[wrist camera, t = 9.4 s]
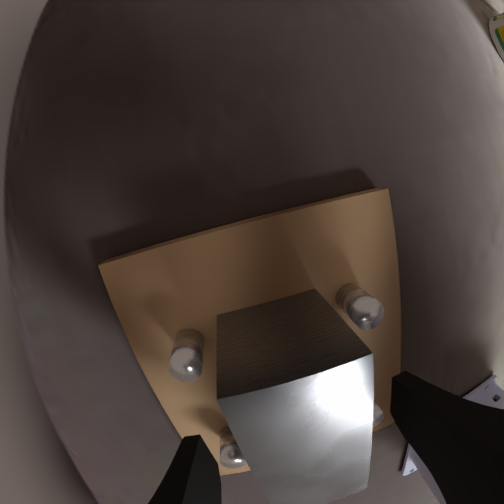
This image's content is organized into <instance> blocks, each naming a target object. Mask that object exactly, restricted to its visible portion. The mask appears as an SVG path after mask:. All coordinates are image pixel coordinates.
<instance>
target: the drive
mask: <svg viewBox="0 0 504 504" xmlns="http://www.w3.org/2000/svg"><path fill="white" fill-rule="evenodd" d="M216 386H217V402H218V404H219V406H220V408H221V410H222V413H223V415H224V417H225V419H226V421H227V423H228V426H229V428H230V430H231V432H232V434H233V436H234V438H235V440H236V442H237V444H238V446H239V448H240V450H241V452H242V454H243V456H244V458H245V460H246V462H247V464H248V466H249V468H250V470H251V472H252V473H253V475H254V477H255V479H256V481H257V483H258V485H259V486H260V488H261V490H262V492H263V494H264V495H265V497H266V499H267V501H268V502H269V504H325V503H328V502H331V501H334V500H337V499H340V498H343V497H346V496H349V495H352V494H354V493H357V492H359V491H362V490H365V489H367V485H368V477H369V467H370V457H371V445H372V429H373V401H374V363H373V352H372V351H371V350H370V349H369V348H368V347H367V346H366V344H365V343H364V342H363V341H362V340H361V339H360V338H359V337H358V335H357V334H356V333H355V332H354V331H353V330H352V329H351V328H350V326H349V325H348V324H347V323H346V322H345V321H344V320H343V319H342V317H341V316H340V315H339V314H338V313H337V312H336V311H335V310H334V309H333V307H332V306H331V305H330V304H329V303H328V302H327V301H326V300H325V299H324V298H323V296H322V295H321V294H320V293H319V292H318V291H317V290H316V289H311V290H308V291H305V292H301V293H298V294H294V295H291V296H287V297H283V298H280V299H276V300H273V301H269V302H265V303H261V304H258V305H254V306H250V307H246V308H243V309H239V310H235V311H231V312H227V313H223V314H219V315H217V348H216Z"/></svg>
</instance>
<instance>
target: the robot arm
mask: <svg viewBox="0 0 504 504" xmlns="http://www.w3.org/2000/svg"><path fill="white" fill-rule="evenodd" d="M496 380H497V376H495V375H493V376H491V377H490V378H489V379H487V380H486V381H485V382H483V383H482V384H481V385H479V386H478V387H477V388H475V389H474V390H472V391H471V392H470V393H468V394H467V395H465V396H464V397H459V396H457V395H454V394H452V393H450V392H447V391H445V390H443V389H441V388H439V387H437V386H435V385H432V384H430V383H428V382H426V381H424V380H422V379H421V378H419V377H417V376H415V375H413V374H411V373H409V372H407V371H404V372H402V373H400V374H398V375H396V376H393V377H392V387H391V404H390V413H391V415H392V417H393V419H394V421H395V423H396V425H397V426H398V428H399V430H400V432H401V433H402V434H403V436H404V437H405V439H406V440H407V441H408V443H409V444H408V448H407V452H406V456H405V460H404V464H403V468H402V472H401V474H402V476H405V475H408V474H409V473H411V472H413V471H415V470H417V469H418V471H419V472H420V474H421V475H422V477H423V478H424V480H425V482H426V483H427V485H428V486H429V488H430V489H431V491H432V492H433V494H434V495H435V497H436V498H437V500H438V501H439V503H440V504H504V391H503V390H502V389H501V388H500V387H499V386H497V385H496V384H495V383H496ZM148 504H221V480H220V473H219V466H218V463H217V461H216V460H215V458H214V456H213V455H212V453H211V452H210V450H209V448H208V447H207V445H206V444H205V442H204V440H203V439H202V437H201V435H200V434H199V435H192V436H185V437H184V438H183V439H182V441H181V443H180V446H179V448H178V450H177V452H176V454H175V456H174V458H173V461H172V463H171V465H170V467H169V469H168V471H167V472H166V474H165V476H164V478H163V480H162V482H161V484H160V485H159V487H158V489H157V490H156V492H155V494H154V495H153V497H152V498H151V500H150V501H149V503H148Z"/></svg>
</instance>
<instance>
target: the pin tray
mask: <svg viewBox="0 0 504 504" xmlns="http://www.w3.org/2000/svg"><path fill="white" fill-rule="evenodd" d="M98 267H99V270H100V273H101V275H102V278H103V281H104V284H105V286H106V289H107V292H108V294H109V297H110V299H111V302H112V304H113V307H114V309H115V312H116V314H117V316H118V319H119V321H120V323H121V326H122V328H123V330H124V332H125V335H126V337H127V339H128V341H129V343H130V346H131V348H132V350H133V352H134V354H135V356H136V358H137V360H138V362H139V364H140V366H141V368H142V370H143V372H144V374H145V376H146V378H147V380H148V381H149V383H150V385H151V387H152V389H153V391H154V392H155V394H156V396H157V398H158V400H159V401H160V403H161V405H162V407H163V408H164V410H165V412H166V413H167V415H168V417H169V418H170V420H171V422H172V423H173V425H174V426H175V428H176V430H177V431H178V433H179V434H180V436H181V437H182V439H183V438H184V437H185V436H192V435H199V434H200V435H201V437H202V439H203V440H204V442H205V444H206V445H207V447H208V448H209V450H210V452H211V453H212V455H213V456H214V458H215V460H216V461H217V463H218V466H219V473H220V475H226V474H233V473H239V472H244V471H250V468H249V466H248V464H247V462H246V460H245V458H244V456H243V454H242V452H241V450H240V448H239V446H238V444H237V442H236V440H235V438H234V436H233V434H232V432H231V430H230V428H229V426H228V423H227V421H226V419H225V417H224V415H223V413H222V410H221V408H220V406H219V404H218V402H217V386H216V348H217V315H219V314H223V313H227V312H231V311H235V310H239V309H243V308H246V307H250V306H254V305H258V304H261V303H265V302H269V301H273V300H276V299H280V298H283V297H287V296H291V295H294V294H298V293H301V292H305V291H308V290H311V289H316V290H317V291H318V292H319V293H320V294H321V295H322V296H323V298H324V299H325V300H326V301H327V302H328V303H329V304H330V305H331V306H332V307H333V309H334V310H335V311H336V312H337V313H338V314H339V315H340V316H341V317H342V319H343V320H344V321H345V322H346V323H347V324H348V325H349V326H350V328H351V329H352V330H353V331H354V332H355V333H356V334H357V335H358V337H359V338H360V339H361V340H362V341H363V342H364V343H365V344H366V346H367V347H368V348H369V349H370V350H371V351H372V352H373V363H374V401H373V429H372V433H373V432H375V431H378V430H380V429H382V428H384V427H386V426H389V425H391V424H393V423H395V421H394V419H393V417H392V415H391V413H390V404H391V387H392V377H393V376H396V375H398V374H400V366H401V299H400V280H399V267H398V255H397V245H396V237H395V229H394V221H393V214H392V207H391V201H390V195H389V189H388V188H374V189H369V190H365V191H360V192H356V193H352V194H347V195H343V196H339V197H334V198H330V199H326V200H322V201H318V202H313V203H309V204H305V205H301V206H297V207H293V208H289V209H285V210H281V211H277V212H273V213H269V214H265V215H261V216H258V217H254V218H250V219H246V220H242V221H239V222H235V223H231V224H227V225H224V226H220V227H216V228H213V229H209V230H205V231H202V232H198V233H195V234H191V235H187V236H184V237H180V238H177V239H173V240H170V241H166V242H163V243H160V244H156V245H153V246H149V247H146V248H143V249H139V250H136V251H132V252H129V253H126V254H123V255H119V256H116V257H113V258H110V259H107V260H105V261H104V262H102V263H101V264H99V265H98Z"/></svg>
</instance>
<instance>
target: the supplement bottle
mask: <svg viewBox="0 0 504 504" xmlns="http://www.w3.org/2000/svg"><path fill="white" fill-rule="evenodd" d="M489 31H490V35H491V38H492V40H493V42H494V44H495V46H496V49H497V51H498V53H499V54H500V56H501V58H502V60H503V61H504V13H502V14H499V15H497V16H495V17H492V18H491V19H490V21H489Z"/></svg>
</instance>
